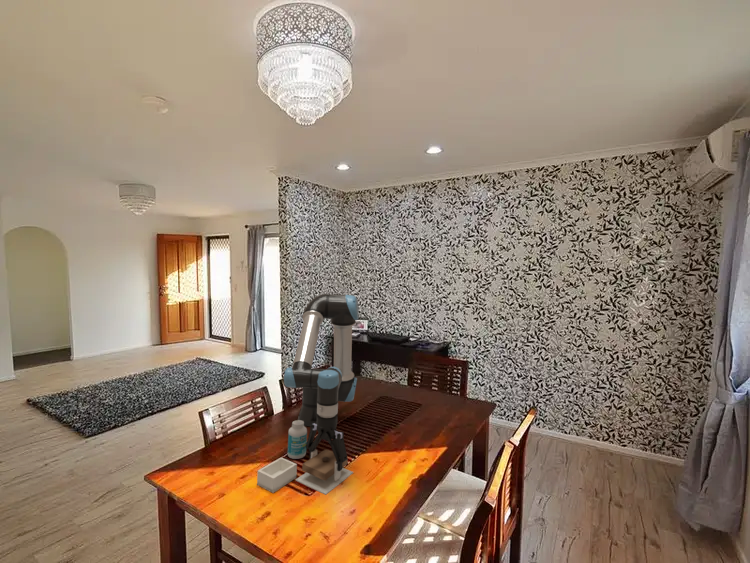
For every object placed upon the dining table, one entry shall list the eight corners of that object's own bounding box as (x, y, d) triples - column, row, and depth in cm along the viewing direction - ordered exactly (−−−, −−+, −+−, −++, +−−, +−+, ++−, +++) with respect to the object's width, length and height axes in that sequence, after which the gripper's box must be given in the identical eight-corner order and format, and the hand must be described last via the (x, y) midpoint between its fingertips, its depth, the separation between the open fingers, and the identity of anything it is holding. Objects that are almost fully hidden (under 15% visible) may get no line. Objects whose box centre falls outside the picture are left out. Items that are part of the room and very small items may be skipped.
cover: (302, 470, 129) (302, 461, 129) (325, 455, 140) (326, 447, 140) (324, 480, 124) (325, 471, 123) (347, 464, 135) (347, 455, 134)
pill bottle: (290, 461, 141) (291, 427, 141) (285, 452, 148) (286, 420, 147) (308, 457, 145) (309, 424, 144) (303, 449, 151) (304, 417, 151)
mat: (295, 480, 129) (295, 479, 129) (324, 461, 142) (324, 460, 142) (325, 494, 122) (325, 493, 121) (353, 473, 135) (353, 471, 135)
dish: (257, 484, 126) (257, 470, 125) (280, 470, 135) (281, 457, 135) (273, 493, 121) (273, 478, 121) (296, 477, 131) (296, 464, 131)
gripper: (296, 409, 134) (294, 467, 135) (346, 426, 122) (344, 489, 123) (310, 403, 140) (308, 459, 141) (359, 418, 128) (356, 479, 129)
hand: (325, 473), depth 132 cm, fingers closed on cover, 10 cm apart
